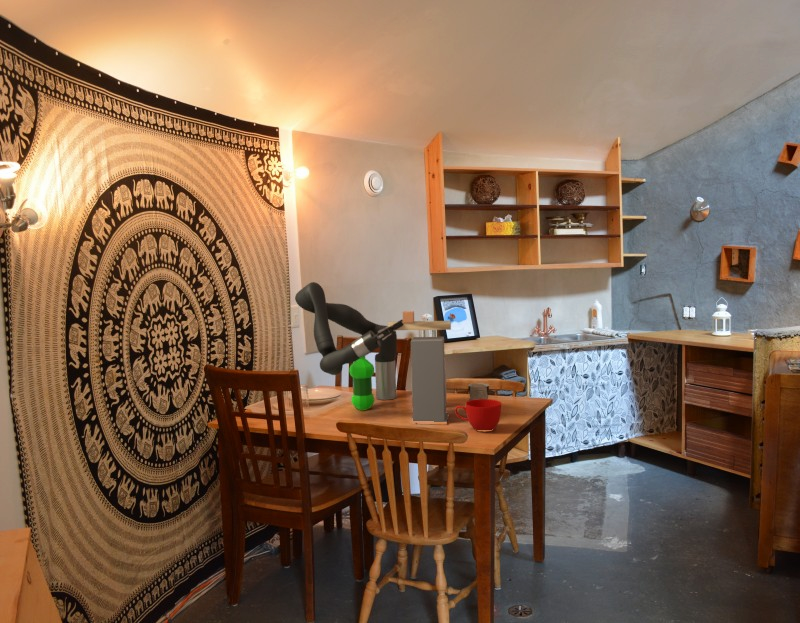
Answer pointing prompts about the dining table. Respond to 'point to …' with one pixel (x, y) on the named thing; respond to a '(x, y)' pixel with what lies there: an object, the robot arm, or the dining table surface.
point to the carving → (478, 392)
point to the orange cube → (408, 316)
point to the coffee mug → (479, 383)
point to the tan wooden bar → (424, 325)
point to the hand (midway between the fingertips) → (402, 322)
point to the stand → (428, 379)
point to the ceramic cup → (482, 413)
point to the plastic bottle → (362, 383)
